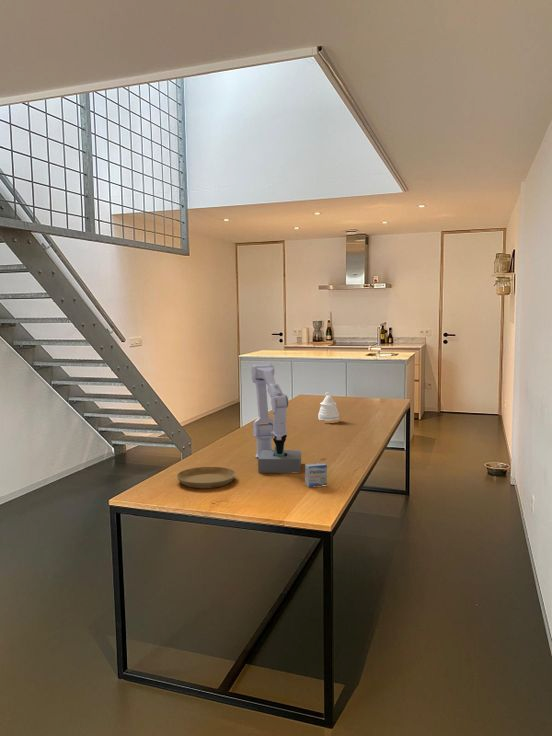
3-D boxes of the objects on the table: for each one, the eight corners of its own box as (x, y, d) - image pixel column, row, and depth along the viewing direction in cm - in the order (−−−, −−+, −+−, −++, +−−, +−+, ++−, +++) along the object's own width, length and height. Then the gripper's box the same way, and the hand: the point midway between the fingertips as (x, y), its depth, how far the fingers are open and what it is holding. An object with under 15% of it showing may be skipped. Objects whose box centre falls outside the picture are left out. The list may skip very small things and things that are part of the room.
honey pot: (314, 421, 360) (314, 392, 358) (332, 419, 365) (332, 391, 363) (324, 424, 348) (324, 395, 346) (342, 422, 354) (343, 393, 352)
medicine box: (308, 488, 226) (308, 466, 225) (304, 484, 230) (304, 463, 230) (327, 486, 228) (327, 464, 227) (323, 483, 233) (323, 462, 232)
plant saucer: (207, 470, 254) (207, 462, 253) (248, 480, 238) (247, 472, 238) (164, 483, 235) (164, 475, 235) (205, 495, 220) (205, 486, 220)
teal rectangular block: (275, 455, 257) (275, 444, 257) (284, 455, 257) (284, 444, 256) (274, 458, 253) (274, 446, 253) (283, 458, 253) (283, 447, 252)
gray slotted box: (261, 462, 264) (261, 449, 263) (301, 463, 263) (301, 450, 262) (258, 472, 248) (258, 458, 248) (299, 473, 247) (299, 459, 246)
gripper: (272, 419, 261) (272, 448, 262) (269, 425, 246) (269, 456, 248) (287, 419, 260) (287, 448, 262) (285, 425, 246) (286, 456, 247)
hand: (280, 452), depth 255 cm, fingers closed on teal rectangular block, 4 cm apart
